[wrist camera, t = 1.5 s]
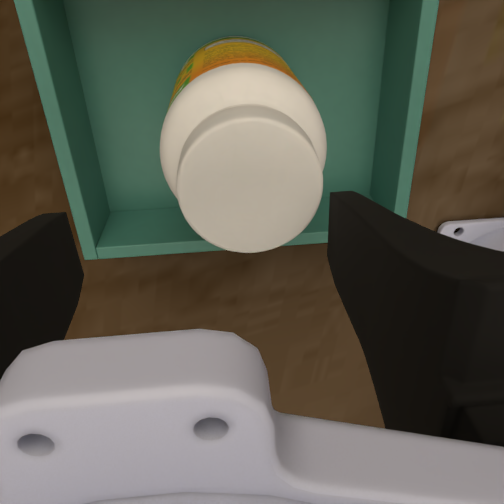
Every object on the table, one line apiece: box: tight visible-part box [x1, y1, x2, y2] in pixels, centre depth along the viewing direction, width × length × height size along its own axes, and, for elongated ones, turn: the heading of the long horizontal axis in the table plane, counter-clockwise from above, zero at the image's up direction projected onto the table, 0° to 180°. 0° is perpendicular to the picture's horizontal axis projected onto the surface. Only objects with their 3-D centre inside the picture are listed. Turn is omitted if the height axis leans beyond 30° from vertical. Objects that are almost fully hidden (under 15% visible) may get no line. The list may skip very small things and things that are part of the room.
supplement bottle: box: [160, 36, 327, 253], centre depth 17 cm, size 5×5×10 cm
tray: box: [14, 0, 439, 260], centre depth 19 cm, size 14×11×4 cm
